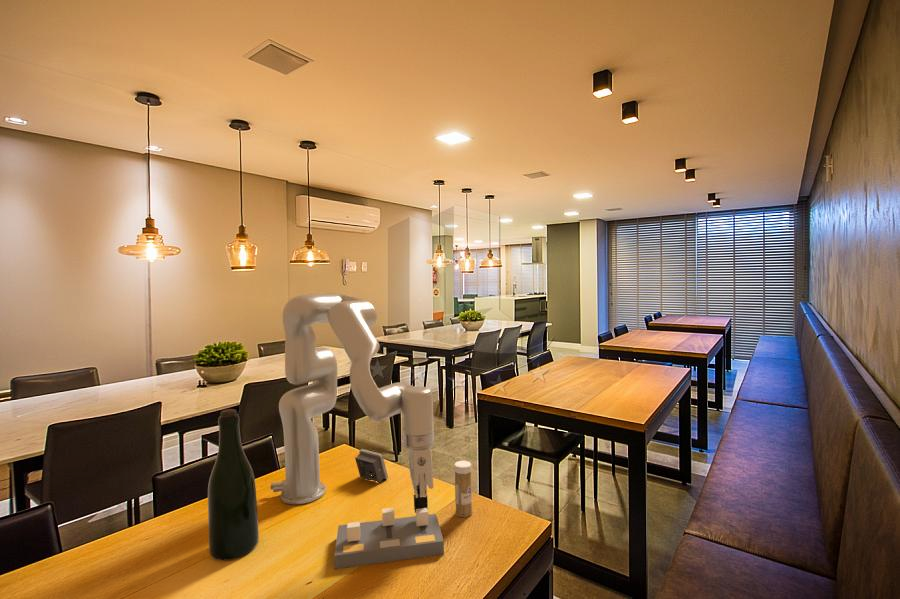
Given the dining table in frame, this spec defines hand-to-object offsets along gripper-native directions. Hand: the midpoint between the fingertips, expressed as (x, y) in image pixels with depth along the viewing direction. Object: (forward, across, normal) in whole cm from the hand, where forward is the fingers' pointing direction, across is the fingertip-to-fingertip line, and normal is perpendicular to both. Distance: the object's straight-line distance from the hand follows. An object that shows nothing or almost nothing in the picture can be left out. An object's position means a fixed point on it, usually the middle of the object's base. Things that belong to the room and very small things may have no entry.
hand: (421, 511), depth 107 cm
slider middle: (+2, -1, +8) cm, 8 cm away
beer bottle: (+5, +3, +44) cm, 44 cm away
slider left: (+2, -5, +16) cm, 17 cm away
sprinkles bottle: (+5, +6, -12) cm, 14 cm away
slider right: (+2, -3, 0) cm, 3 cm away
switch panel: (+5, -4, +8) cm, 10 cm away
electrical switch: (+5, +32, +12) cm, 34 cm away
